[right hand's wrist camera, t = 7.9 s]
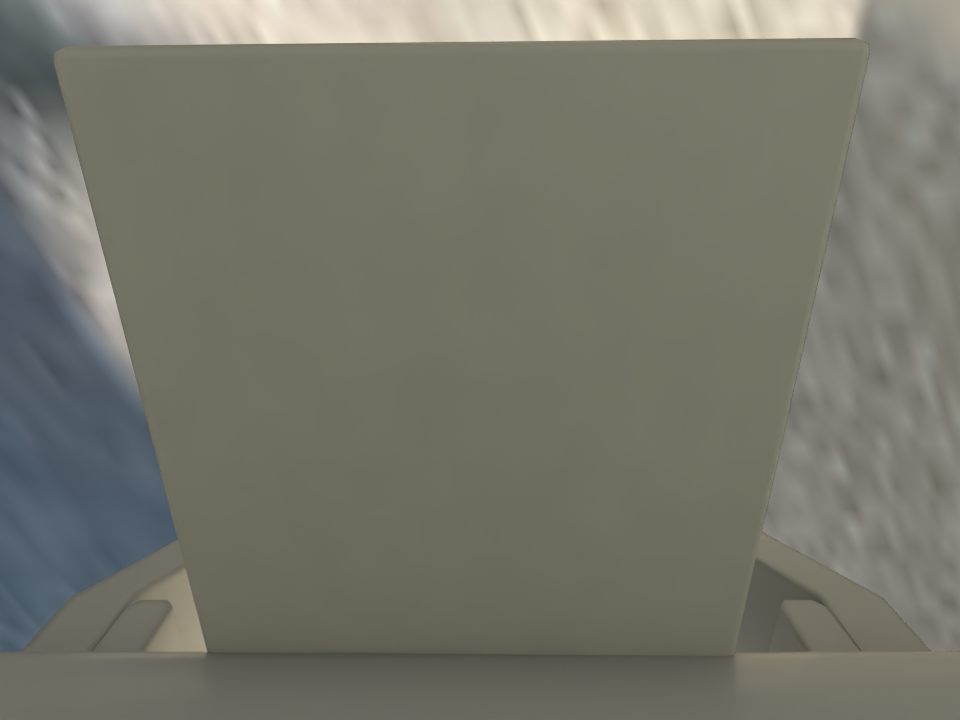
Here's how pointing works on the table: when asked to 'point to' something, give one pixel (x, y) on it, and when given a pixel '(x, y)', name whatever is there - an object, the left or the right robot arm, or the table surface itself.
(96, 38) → the table surface
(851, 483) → the table surface
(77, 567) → the table surface
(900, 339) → the table surface
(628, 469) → the bar
